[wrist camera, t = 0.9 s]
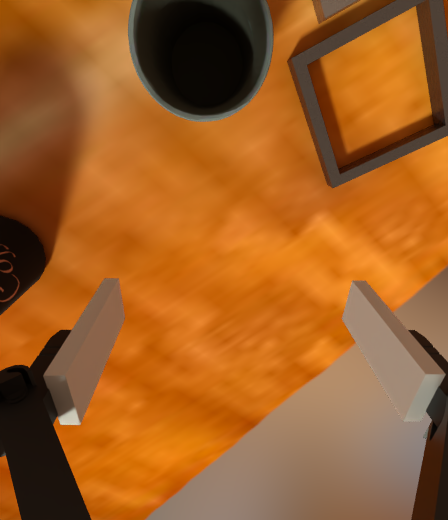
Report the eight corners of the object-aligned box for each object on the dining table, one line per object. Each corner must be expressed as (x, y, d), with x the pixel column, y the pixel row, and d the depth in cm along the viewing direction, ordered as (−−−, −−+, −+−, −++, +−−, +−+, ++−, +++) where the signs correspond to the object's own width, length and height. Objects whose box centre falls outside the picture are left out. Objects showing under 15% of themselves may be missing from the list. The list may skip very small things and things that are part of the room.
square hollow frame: (287, 61, 31) (291, 58, 30) (426, -16, 29) (440, -24, 27) (327, 184, 37) (332, 188, 36) (446, 129, 35) (458, 130, 33)
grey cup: (139, 68, 32) (99, 46, 21) (202, -23, 28) (193, -105, 18) (211, 138, 35) (207, 151, 24) (274, 63, 32) (303, 39, 21)
